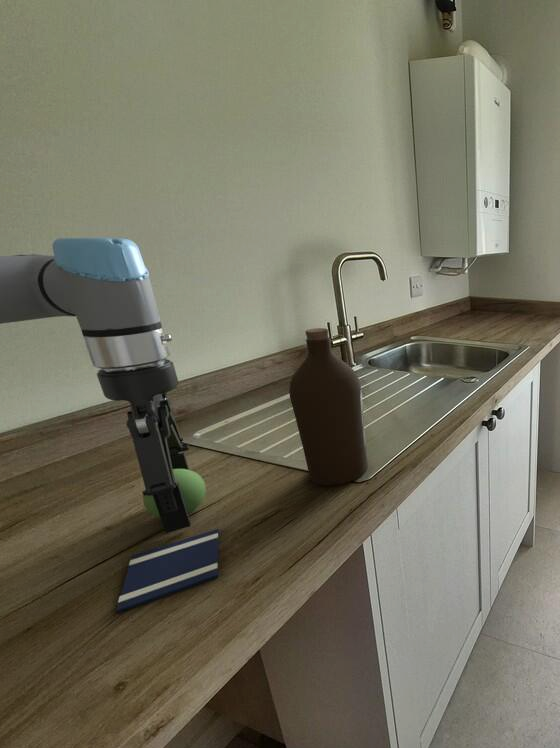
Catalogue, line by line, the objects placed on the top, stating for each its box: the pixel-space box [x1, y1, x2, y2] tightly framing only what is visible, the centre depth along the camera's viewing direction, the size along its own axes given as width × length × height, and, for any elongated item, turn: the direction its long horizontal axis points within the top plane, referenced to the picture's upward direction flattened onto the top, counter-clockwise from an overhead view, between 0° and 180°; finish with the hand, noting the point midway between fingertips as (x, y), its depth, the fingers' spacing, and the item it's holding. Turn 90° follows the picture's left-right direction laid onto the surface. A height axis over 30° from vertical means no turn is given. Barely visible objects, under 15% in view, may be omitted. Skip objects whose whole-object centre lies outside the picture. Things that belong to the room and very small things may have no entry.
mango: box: [142, 469, 207, 518], centre depth 59 cm, size 7×7×7 cm
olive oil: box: [288, 327, 369, 487], centre depth 67 cm, size 11×11×25 cm
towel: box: [115, 528, 220, 614], centre depth 50 cm, size 10×9×1 cm
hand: (181, 509), depth 60 cm, fingers open, 10 cm apart
